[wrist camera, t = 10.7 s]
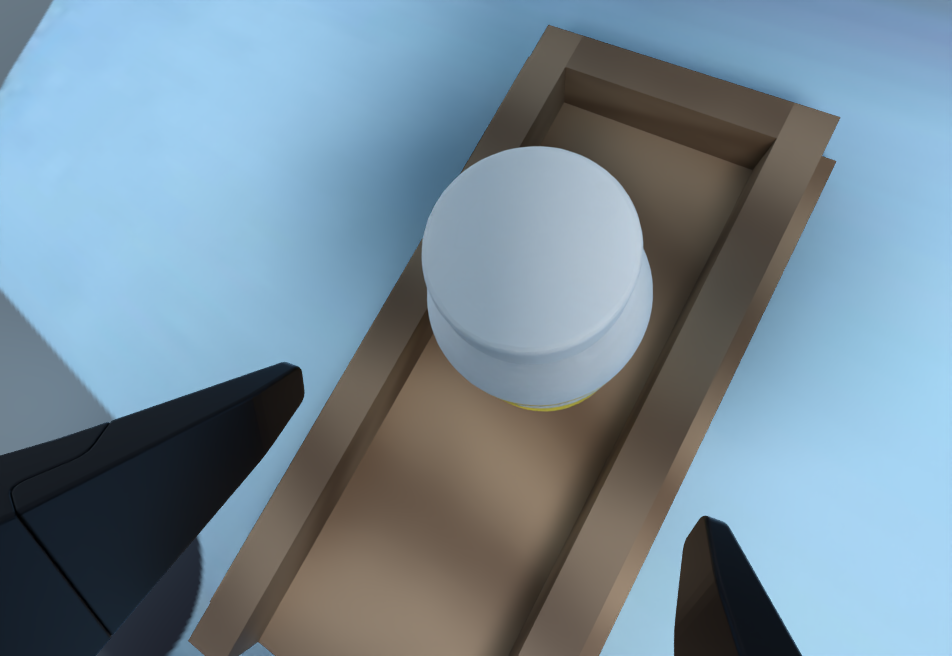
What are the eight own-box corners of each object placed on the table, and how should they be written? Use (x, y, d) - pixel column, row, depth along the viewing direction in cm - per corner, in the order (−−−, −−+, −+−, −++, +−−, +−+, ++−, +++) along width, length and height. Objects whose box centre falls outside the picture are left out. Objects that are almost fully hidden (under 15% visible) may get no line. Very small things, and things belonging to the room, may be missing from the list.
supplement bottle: (458, 296, 18) (360, 158, 9) (590, 258, 18) (632, 68, 8) (492, 429, 17) (417, 430, 8) (635, 392, 17) (745, 344, 7)
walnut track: (508, 826, 15) (499, 912, 12) (224, 594, 18) (167, 622, 16) (824, 172, 18) (872, 127, 15) (529, 69, 21) (526, 17, 18)
